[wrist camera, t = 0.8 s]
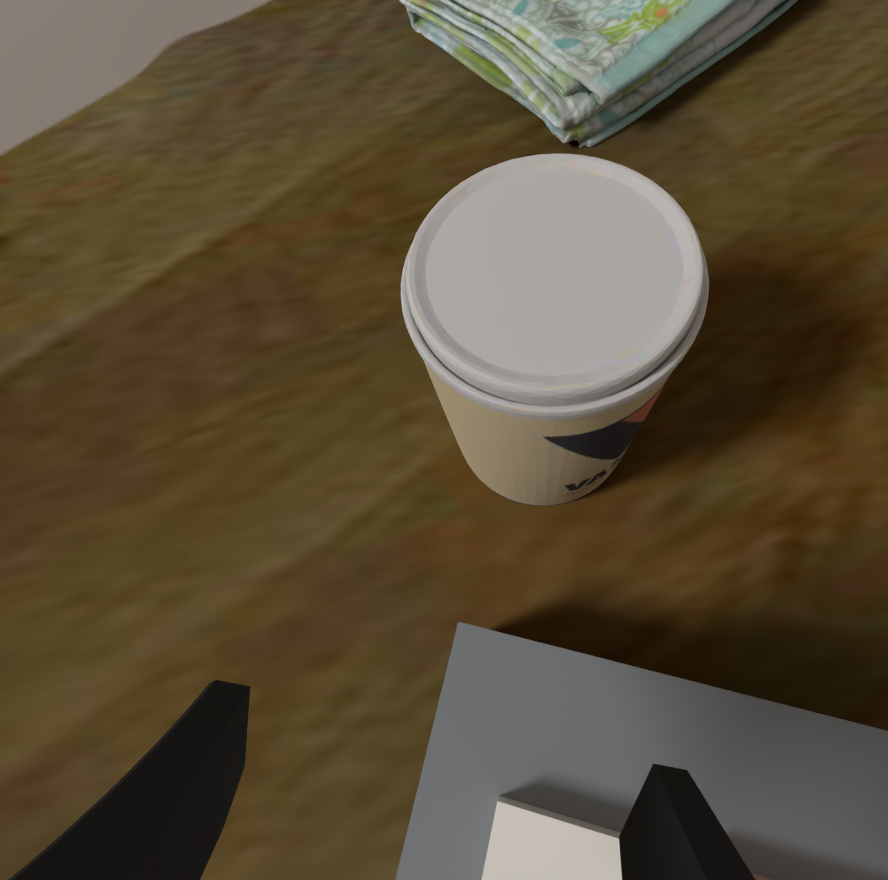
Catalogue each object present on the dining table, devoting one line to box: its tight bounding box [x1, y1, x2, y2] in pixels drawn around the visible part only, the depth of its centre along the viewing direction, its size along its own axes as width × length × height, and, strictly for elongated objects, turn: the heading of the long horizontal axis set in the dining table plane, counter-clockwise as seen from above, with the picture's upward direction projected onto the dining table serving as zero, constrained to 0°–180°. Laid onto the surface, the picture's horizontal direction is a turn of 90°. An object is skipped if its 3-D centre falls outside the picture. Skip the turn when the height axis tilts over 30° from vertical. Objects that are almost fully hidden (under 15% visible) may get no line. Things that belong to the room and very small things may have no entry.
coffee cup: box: [401, 154, 709, 505], centre depth 25 cm, size 9×9×12 cm
